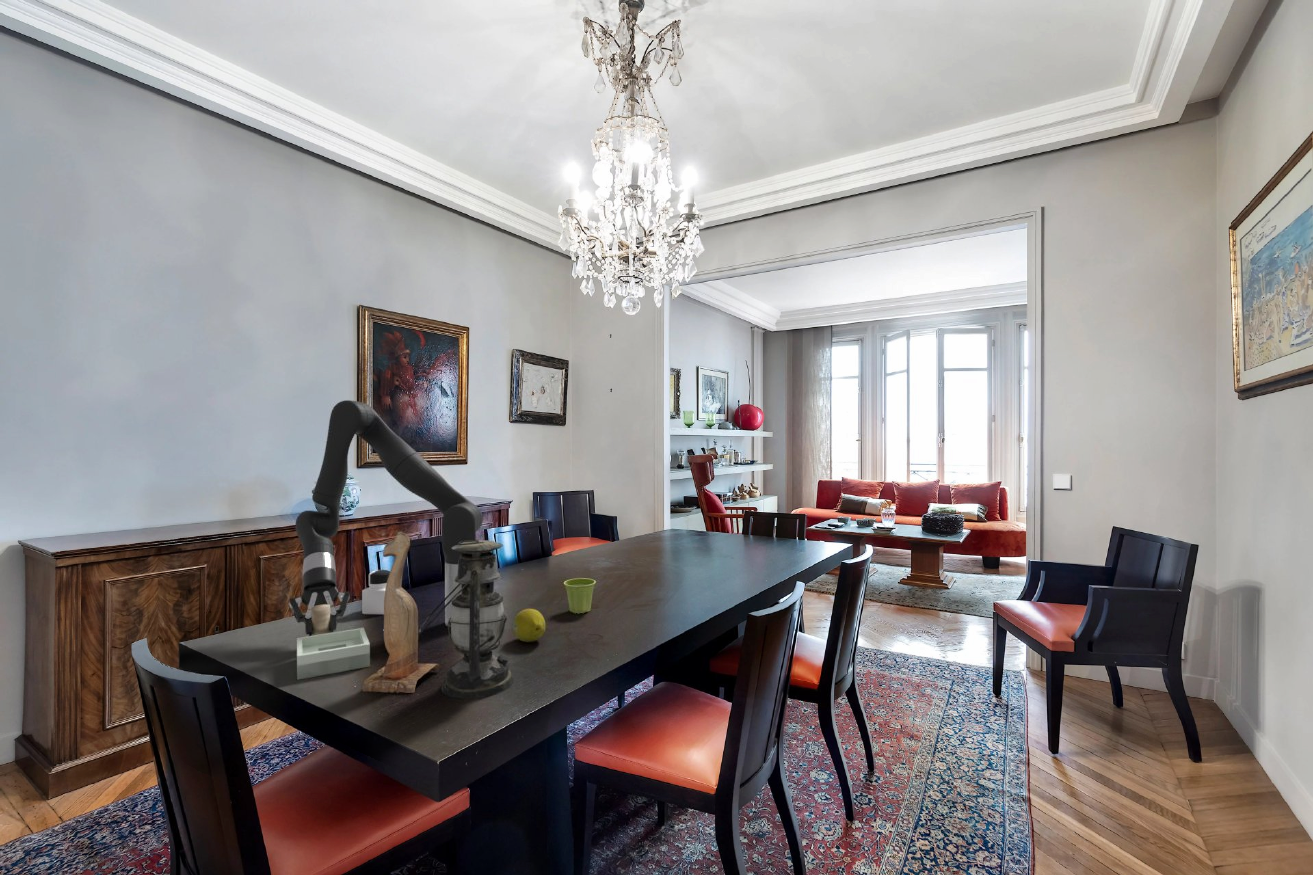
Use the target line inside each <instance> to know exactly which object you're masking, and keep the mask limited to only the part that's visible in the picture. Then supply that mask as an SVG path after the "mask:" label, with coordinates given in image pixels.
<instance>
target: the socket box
mask: <svg viewBox="0 0 1313 875" xmlns="http://www.w3.org/2000/svg"><path fill="white" fill-rule="evenodd" d="M370 645H371V644H370V640H369V638H368V636H367V633H366V631H365V628H364V627H358V628H353V629H346V630H339V631H333V632H332V633H326V634H319V635H313V636H309V635H307V636H302V637H301V636H300V637H296V679H297V680H304V679H308V678H310V679H311V678H314V677H320V676H325V675H331V674H335V673H341V672H346V671H347V672H348V671H351V670H352V671H353V670H356V669H357V670H358V669H364V668H368V667H371V646H370Z"/></svg>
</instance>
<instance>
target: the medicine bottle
mask: <svg viewBox="0 0 1313 875" xmlns="http://www.w3.org/2000/svg"><path fill="white" fill-rule="evenodd" d="M390 571H391V570H388V569H378V570H377V569H376V570H373V571H371V572H369V574H368V586H369V587H366V588H364V589H362V590H361V592H362V593H361V598H362V599H361V600H362V601H361V602H362V603H361V607H362V608H361V610H362V611H361V613H362V614H363V615H384V597H385V589H386V585H387V580H388V577H389V574H390Z"/></svg>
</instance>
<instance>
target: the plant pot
mask: <svg viewBox="0 0 1313 875" xmlns="http://www.w3.org/2000/svg"><path fill="white" fill-rule="evenodd" d="M596 583H597V582H596V580H594V579H593V578H587V577H586V578H583V577H577V578H572V579H567V580H565V581H564V582H563V584H564V587H565V591H566V595H567V600H568V609H569V612H570V613H573V614H576V613H577V614H580V613H582V614H584V613H590V611H591V609H592V608H591V607H592V599H593V592H594V588H595V584H596Z"/></svg>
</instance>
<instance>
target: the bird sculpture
mask: <svg viewBox="0 0 1313 875" xmlns="http://www.w3.org/2000/svg"><path fill="white" fill-rule="evenodd" d="M410 541H411V540H410V538H409V536H408V534H406V533H404V532H402V531H398V532H397V534H396V536H395V538H394V539H393V540H391V541H389V542H388V543H386V544H385V545H384V548H383V551H382V557H384V558H387V557H394V560H393V562H392V566H391V568H390V570H389V571H390V574H389V577H388V580H387V585H386V589H385V597H384V614H383V643H384V646H385V649H386V651H387V653H388V654H389V656H388V659H387V661H386V663H385V665H384V666H383V667H381V668H380V669H378V670H377V671H376V673H374V674H372V675H370V676H369V677H367V678H365V679H364V681H363V685H362V692H370V693H371V692H373V693H376V692H377V693H378V692H379V693H394V692H395V693H397V694H398V693H405V694H406V693H407V694H408V693H409V694H410V693H411V694H412V693H415V692H416V691H415V690H416V685H417V682H418V681H419V679H421V678H422V677H423V676H425V674H427V673H429V672H431V671H433V672H434V673H436V671H437V672H438V673H440V664H439V663H420V662H419V661H418V656H419V654H418V653H419V652H418V651H419V650H418V649H419V648H418V647H419V635H418V630H419V611H418V605H417V603H416V602H415V599H414V598H413V597H412V595H411V594H410V593H408V591H406V589H404V588H403V587H402V582H403V573H404V567H405V564H406V558H407V556H408V552H409V549H410V547H411V542H410ZM418 662H419V663H418Z"/></svg>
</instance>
